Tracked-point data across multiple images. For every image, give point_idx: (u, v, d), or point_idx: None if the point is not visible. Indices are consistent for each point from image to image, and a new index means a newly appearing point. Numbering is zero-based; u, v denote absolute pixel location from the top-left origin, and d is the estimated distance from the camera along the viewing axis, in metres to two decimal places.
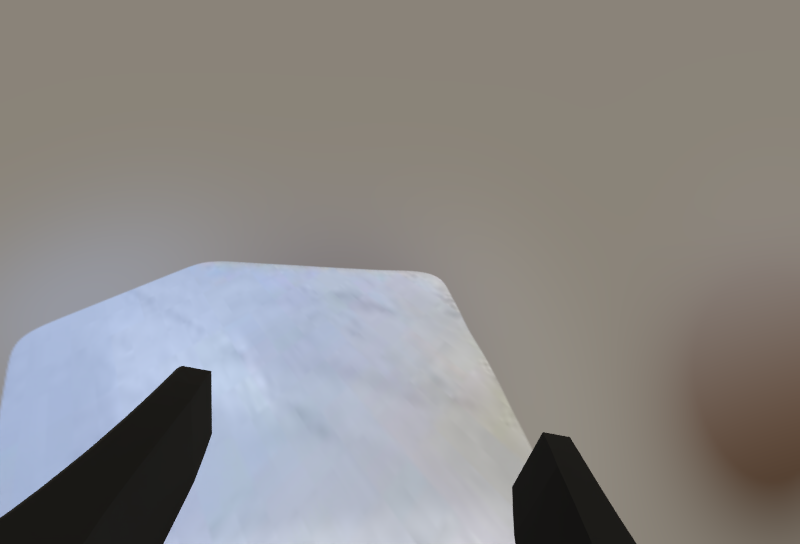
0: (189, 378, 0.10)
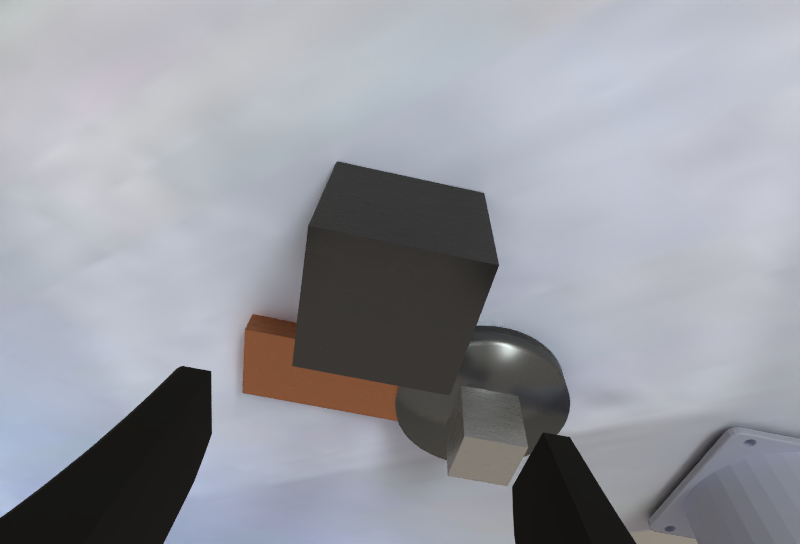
0: (189, 378, 0.10)
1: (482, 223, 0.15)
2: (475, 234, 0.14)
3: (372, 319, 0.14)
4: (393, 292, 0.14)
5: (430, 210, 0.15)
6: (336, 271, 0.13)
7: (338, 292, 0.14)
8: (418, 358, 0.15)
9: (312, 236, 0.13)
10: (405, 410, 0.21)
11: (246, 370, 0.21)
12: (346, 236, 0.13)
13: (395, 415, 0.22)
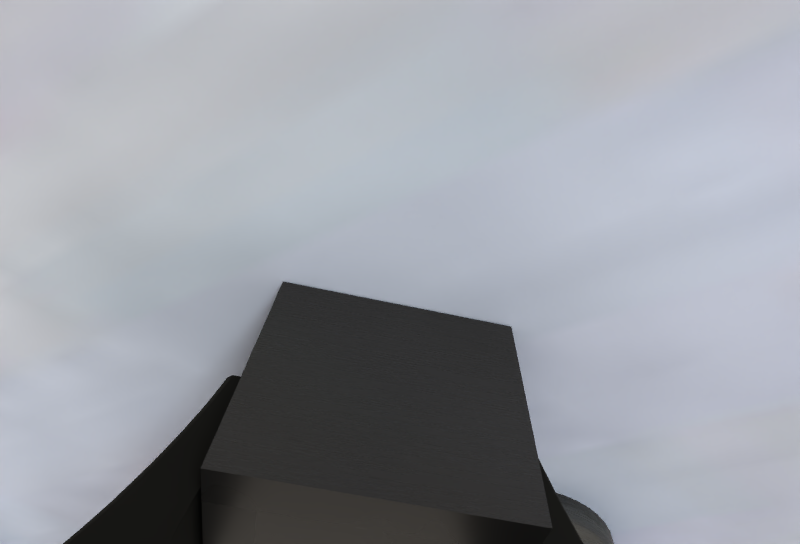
0: None
1: (514, 405, 0.09)
2: (505, 439, 0.08)
3: None
4: None
5: (428, 384, 0.09)
6: (261, 525, 0.08)
7: None
8: None
9: (210, 482, 0.07)
10: None
11: None
12: (273, 481, 0.07)
13: None
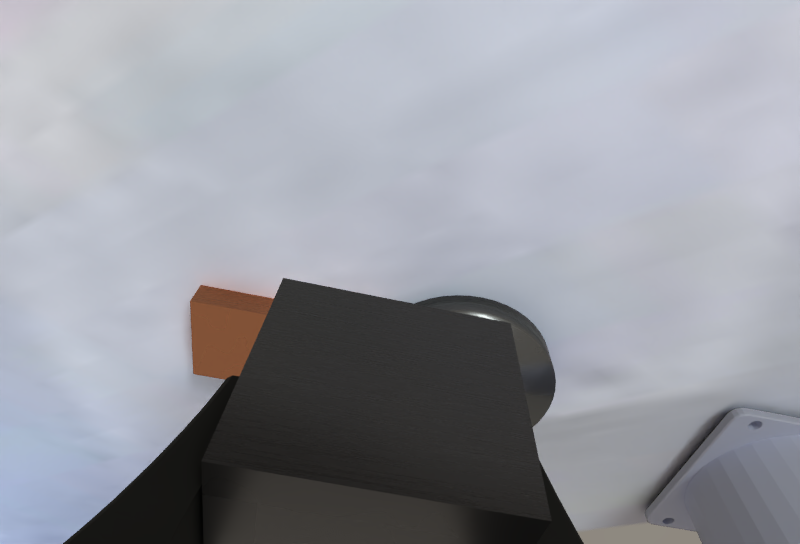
0: None
1: (513, 400, 0.09)
2: (504, 433, 0.08)
3: None
4: None
5: (428, 379, 0.09)
6: (261, 519, 0.08)
7: None
8: None
9: (211, 475, 0.07)
10: None
11: (195, 348, 0.19)
12: (273, 474, 0.07)
13: None
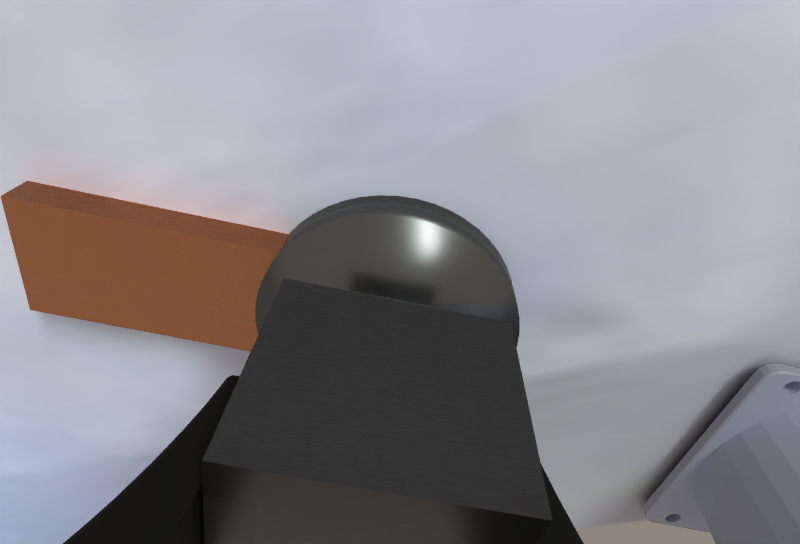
0: None
1: (514, 400, 0.09)
2: (505, 433, 0.08)
3: None
4: None
5: (428, 379, 0.09)
6: (262, 518, 0.08)
7: None
8: None
9: (211, 475, 0.07)
10: None
11: (24, 271, 0.13)
12: (274, 474, 0.07)
13: None
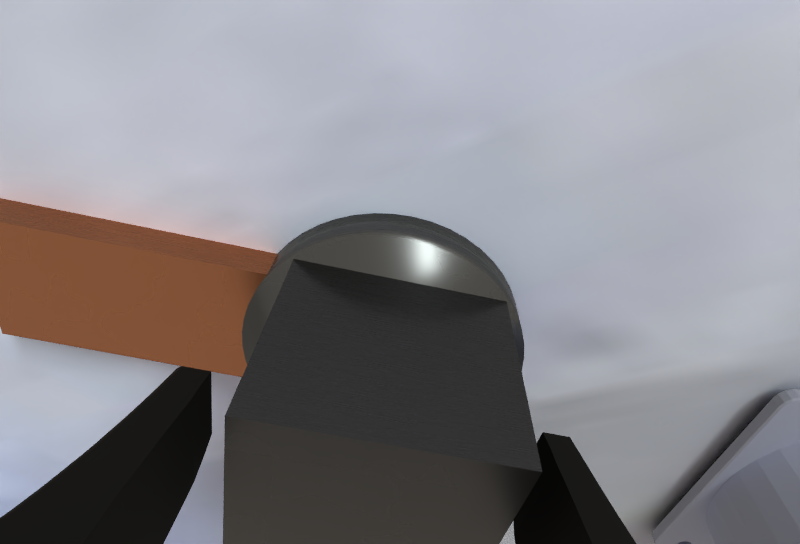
0: (189, 378, 0.10)
1: (508, 369, 0.10)
2: (500, 397, 0.09)
3: (339, 529, 0.09)
4: (370, 499, 0.09)
5: (429, 349, 0.10)
6: (277, 472, 0.08)
7: (284, 497, 0.09)
8: None
9: (233, 430, 0.08)
10: None
11: None
12: (290, 429, 0.08)
13: None
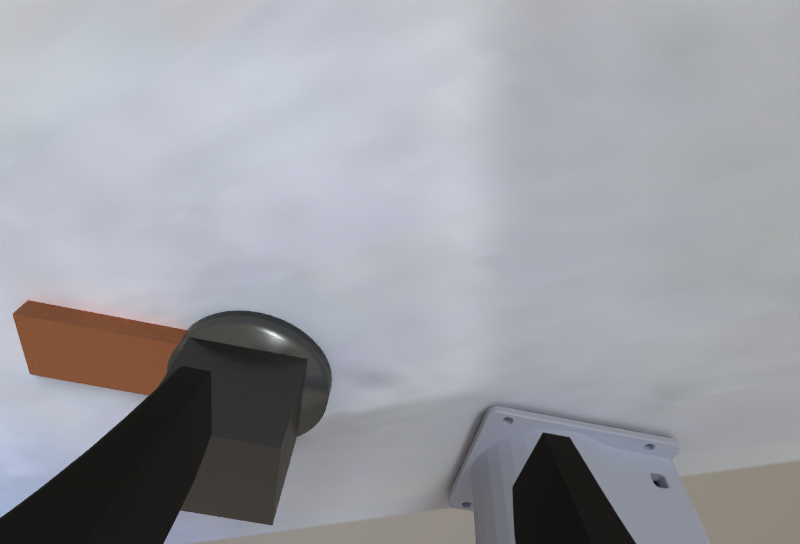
0: (189, 378, 0.10)
1: (288, 398, 0.19)
2: (276, 413, 0.19)
3: (199, 477, 0.19)
4: (209, 462, 0.18)
5: (248, 389, 0.19)
6: None
7: None
8: (241, 502, 0.19)
9: None
10: None
11: (26, 352, 0.22)
12: None
13: None
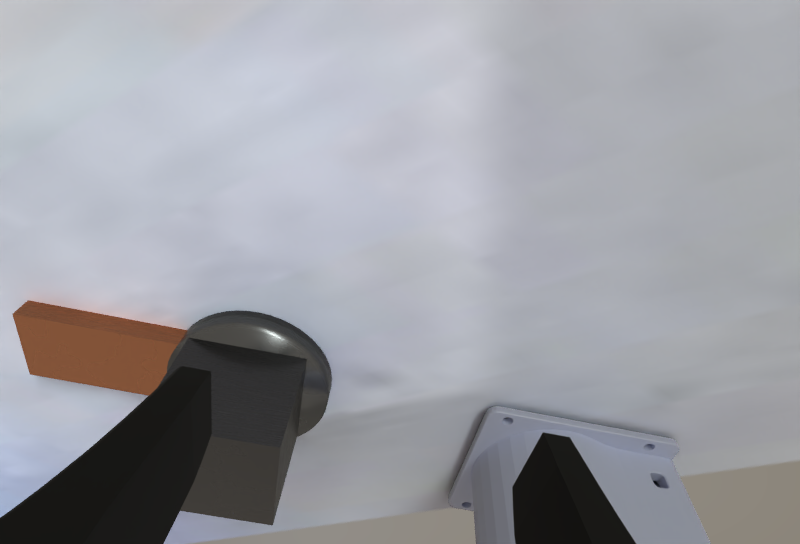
0: (188, 378, 0.10)
1: (288, 398, 0.19)
2: (275, 413, 0.19)
3: (199, 477, 0.19)
4: (209, 462, 0.18)
5: (248, 388, 0.19)
6: None
7: None
8: (241, 502, 0.19)
9: None
10: None
11: (26, 352, 0.22)
12: None
13: None
